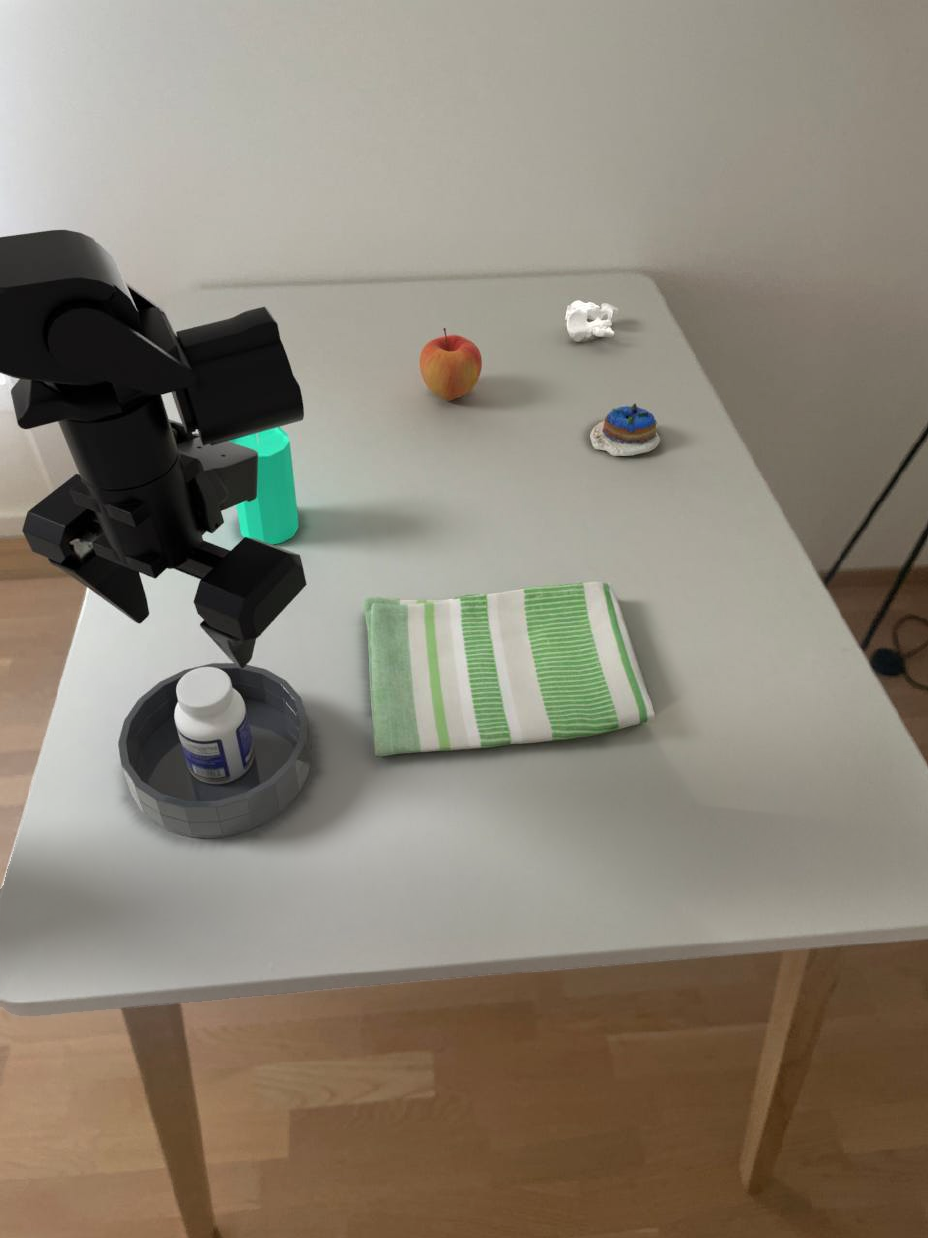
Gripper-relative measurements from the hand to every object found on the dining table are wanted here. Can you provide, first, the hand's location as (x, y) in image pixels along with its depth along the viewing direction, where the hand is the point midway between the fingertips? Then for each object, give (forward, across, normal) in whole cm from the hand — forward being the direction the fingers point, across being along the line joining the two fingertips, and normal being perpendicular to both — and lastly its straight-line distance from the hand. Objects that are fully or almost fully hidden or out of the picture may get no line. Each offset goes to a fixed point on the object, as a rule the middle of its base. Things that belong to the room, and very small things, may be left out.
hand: (192, 640), depth 68 cm
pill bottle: (+14, +1, +1) cm, 14 cm away
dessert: (+19, -10, -59) cm, 62 cm away
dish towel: (+16, -14, -19) cm, 29 cm away
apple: (+17, +12, -56) cm, 60 cm away
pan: (+14, +1, +1) cm, 14 cm away
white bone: (+19, +4, -80) cm, 82 cm away
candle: (+15, +16, -25) cm, 33 cm away
